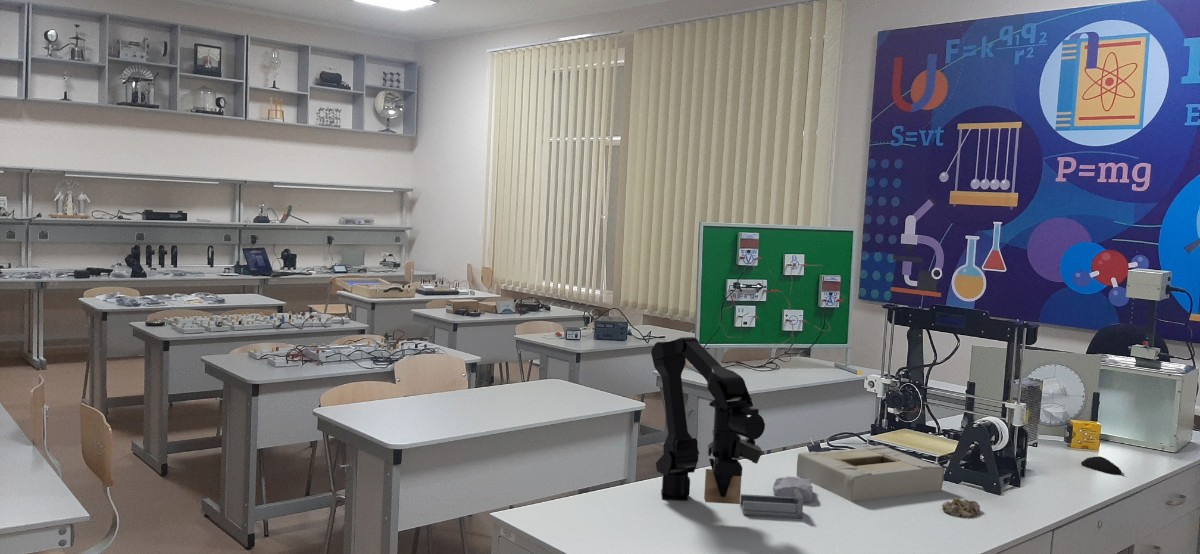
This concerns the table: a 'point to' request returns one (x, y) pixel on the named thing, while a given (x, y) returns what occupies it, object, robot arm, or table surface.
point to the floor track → (772, 505)
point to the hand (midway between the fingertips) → (722, 494)
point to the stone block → (793, 487)
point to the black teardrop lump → (1101, 465)
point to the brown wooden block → (713, 492)
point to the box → (869, 473)
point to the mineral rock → (961, 508)
